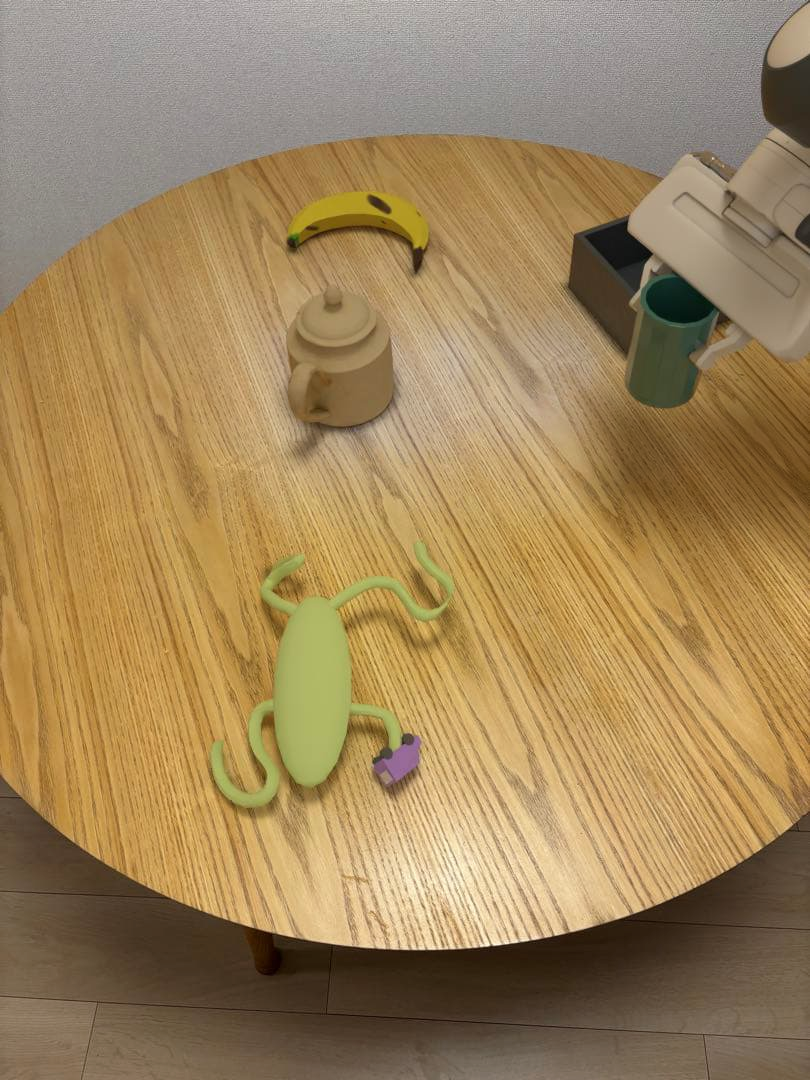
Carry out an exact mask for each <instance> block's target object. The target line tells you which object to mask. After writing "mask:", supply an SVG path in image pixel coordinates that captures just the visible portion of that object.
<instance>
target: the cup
mask: <svg viewBox="0 0 810 1080" xmlns="http://www.w3.org/2000/svg"><path fill="white" fill-rule="evenodd" d="M719 311H720V310H719V309H718V308H717V307H716V306H715V305H713V304H712V303H711V302H710V301H709V300H708V299H706V298H705V297H704V296H703V295H702V294H700V293H699V292H698V291H697V290H696V289H695V288H693V287H692V286H691V285H690V284H689V283H688V282H686V281H685V280H684V279H683V278H682V277H681V276H679V275H678V274H677V273H671V274H664V275H660V276H658V277H656V278H654V279H652V280H649V281H648V282H647V284H646V285H645V286H644V287H643V288H642V290H641V294H640V299H639V304H638V309H637V314H636V319H635V324H634V329H633V334H632V339H631V344H630V349H629V355H627V360H626V366H625V371H624V377H623V381H624V382H623V383H624V387H625V389H626V392H628V394H629V395H630V396H631V398H633V399H634V400H635V401H637V402H638V403H640V404H641V405H644V406H647V407H649V408H654V409H662V410H666V409H675V408H678V407H681V406H683V405H685V404H687V403H688V402H689V401H691V399H692V398H693V397H694V396H695V394H696V392H697V389H698V387H699V384H700V380H701V377H702V375H703V371H702V370H700V369H699V368H698V367H697V366H696V365H694V364H693V363H692V362H691V361H690V360H689V359H688V356H689V355H690V353H691V352H693V351H695V348H696V347H697V346H698V345H699V344H700V342H702V343H704V344H706V345H708V346H710V345H711V342H712V338H713V335H714V332H715V328H716V325H717V324H716V322H717V318H718V315H719Z"/></svg>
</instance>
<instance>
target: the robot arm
mask: <svg viewBox="0 0 810 1080" xmlns="http://www.w3.org/2000/svg"><path fill="white" fill-rule="evenodd" d="M760 99H761V107H762V112H763V116H764V119H765V121H766V122H767V123H768V124H769V125H771V126H773V127H774V129H772V130H771V131H770V132H768V134H767V135H766V136H765V137H764V138H763V140H761V142H760V143H759V144H758V145H757V146H756V148H755V149H754V150H753V151H752V153H750V155H749V157H748V158H747V159H746V160H745V161H744V162H743V164H742V165H741V166H740V167H739V169H738V170H737V169H735V168H734V167H732V166H731V165H729V164H727V163H726V162H724V161H722V160H721V159H719V157H718V156H717V155H716V154H715V153H713V152H712V151H709V150H703V151H693V152H690V153H686V154H684V155H683V156H682V157H681V158H680V159H679V160H678V161H677V163H676V164H675V165H674V166H673V168H672V169H671V170H670V171H669V173H668V174H667V175H666V177H664V178H663V179H662V180H661V181H660V182H659V183H658V184H657V185H656V186H655V187H654V188H653V189H652V190H651V191H650V192H649V193H648V194H647V195H646V196H645V197H644V198H643V199H642V200H641V202H640V203H639V204H638V205H637V206H636V207H635V208H634V209H633V211H632V212H631V215H630V214H629V215H630V217H629V221H628V229H627V230H628V232H629V233H630V234H631V235H632V236H634V237H635V238H636V239H637V240H638V241H639V242H641V243H642V244H643V245H644V246H645V247H646V248H648V249H649V250H650V251H651V252H652V253H653V255H652V256H651V257H650V259H649V260H648V261H647V262H646V264H645V266H644V270H643V275H642V279H641V284H640V289H639V290H638V292H637V293H636V294H635V295H634V297H633V298H632V299H631V300H630V302H629V305H630V306H631V307H632V308H633V309H634V310H635V311H636V312H637V309H638V304H639V299H640V294H641V290H642V288H643V287H644V286H645V285H646V284H647V282H648V281H649V280H652V279H654V278H656V277H658V276H660V275H664V274H671V272H672V271H675V272H676V273H677V274H678V275H679V276H681V277H682V278H683V279H684V280H685V281H686V282H688V283H689V284H690V285H691V286H692V287H693V288H695V289H696V290H697V291H698V292H699V293H700V294H702V295H703V296H704V297H705V298H706V299H708V300H709V301H710V302H711V303H712V304H713V305H715V306H716V307H717V308H718V309H719V310H720V311H722V312H723V313H724V314H725V315H726V316H727V317H729V318H730V319H729V320H731V321H732V322H731V324H730V325H729V326H728V327H727V328H726V329H725V330H724V334H725V335H726V336H727V337H725V338H723V339H721V340H719V341H717V342H714V343H712V344H710V346H708V345H706V344H704V343H702V342H700V344H699V345H698V346H697V347H696V348H695V351H693V352H691V353H690V355H689V356H688V359H689V360H690V361H691V362H692V363H693V364H694V365H696V366H697V367H698V368H699V369H700V370H702V372H707V371H709V370H710V369H711V368H712V367H713V366H714V364H715V363H716V362H717V361H718V360H719V359H720V358H723V357H725V356H729V355H731V354H733V353H737V352H739V351H741V350H744V349H745V348H746V347H747V346H748V345H749V344H750V343H751V341H753V340H755V342H757V343H758V344H759V345H760V346H761V347H762V348H764V349H765V350H766V351H768V353H769V354H771V356H773V357H775V358H776V359H777V360H779V361H781V362H782V363H784V364H791V363H796V362H799V361H801V360H803V359H805V358H806V357H807V356H808V354H810V0H807V1H806V2H804V3H803V4H802V5H801V6H800V7H799V8H798V9H796V10H795V11H794V12H793V13H792V14H791V15H790V16H789V17H788V18H787V19H786V20H785V21H784V22H783V24H782V25H781V26H780V27H779V28H778V29H777V31H776V32H775V34H774V35H773V37H772V38H771V39H770V41H769V43H768V45H767V46H766V49H765V52H764V55H763V60H762V66H761V75H760ZM697 157H699V159H697Z"/></svg>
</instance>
